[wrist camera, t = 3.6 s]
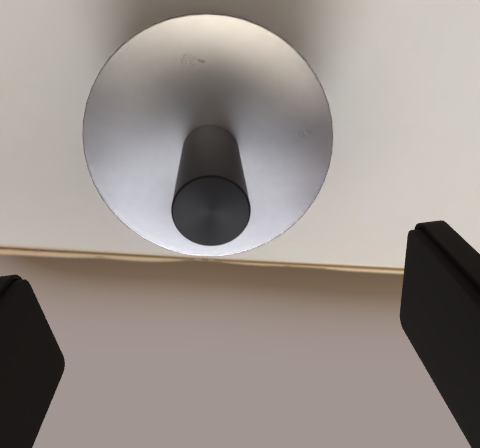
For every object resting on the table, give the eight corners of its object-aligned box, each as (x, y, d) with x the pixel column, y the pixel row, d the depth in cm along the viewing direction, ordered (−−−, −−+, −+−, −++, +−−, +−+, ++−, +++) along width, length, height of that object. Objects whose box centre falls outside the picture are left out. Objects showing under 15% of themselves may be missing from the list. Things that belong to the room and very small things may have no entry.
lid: (91, 236, 23) (43, 332, 16) (83, -10, 17) (3, -18, 10) (299, 254, 24) (333, 349, 18) (355, 35, 19) (437, 52, 12)
